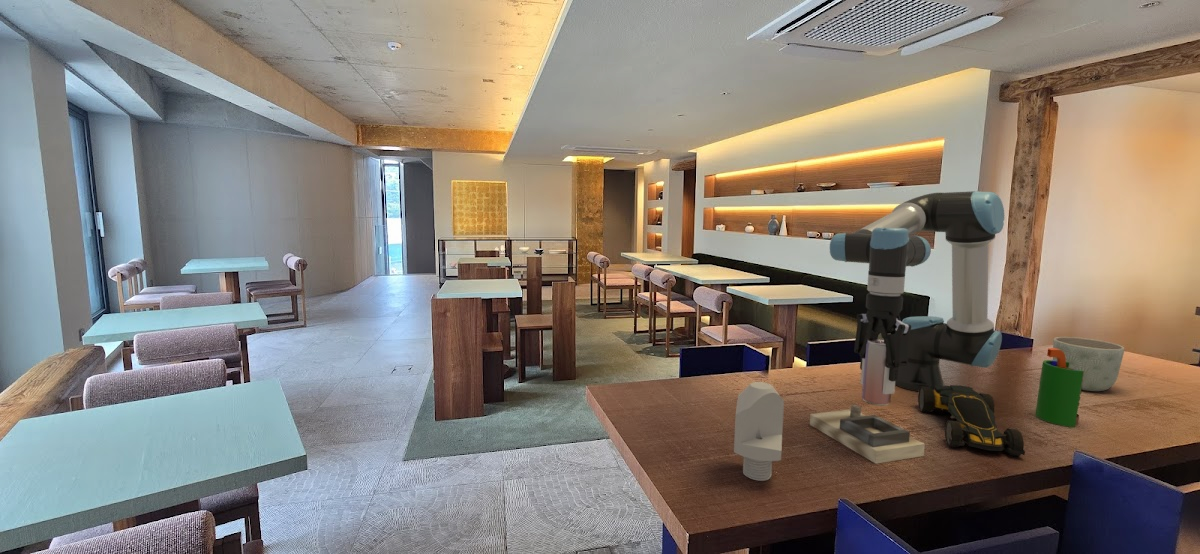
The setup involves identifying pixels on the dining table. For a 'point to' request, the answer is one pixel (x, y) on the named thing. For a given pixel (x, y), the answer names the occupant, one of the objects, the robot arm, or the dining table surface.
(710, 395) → the dining table surface
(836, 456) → the dining table surface
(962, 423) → the toy car
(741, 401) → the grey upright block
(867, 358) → the beverage can
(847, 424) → the board
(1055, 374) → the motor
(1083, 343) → the planter
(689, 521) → the dining table surface
